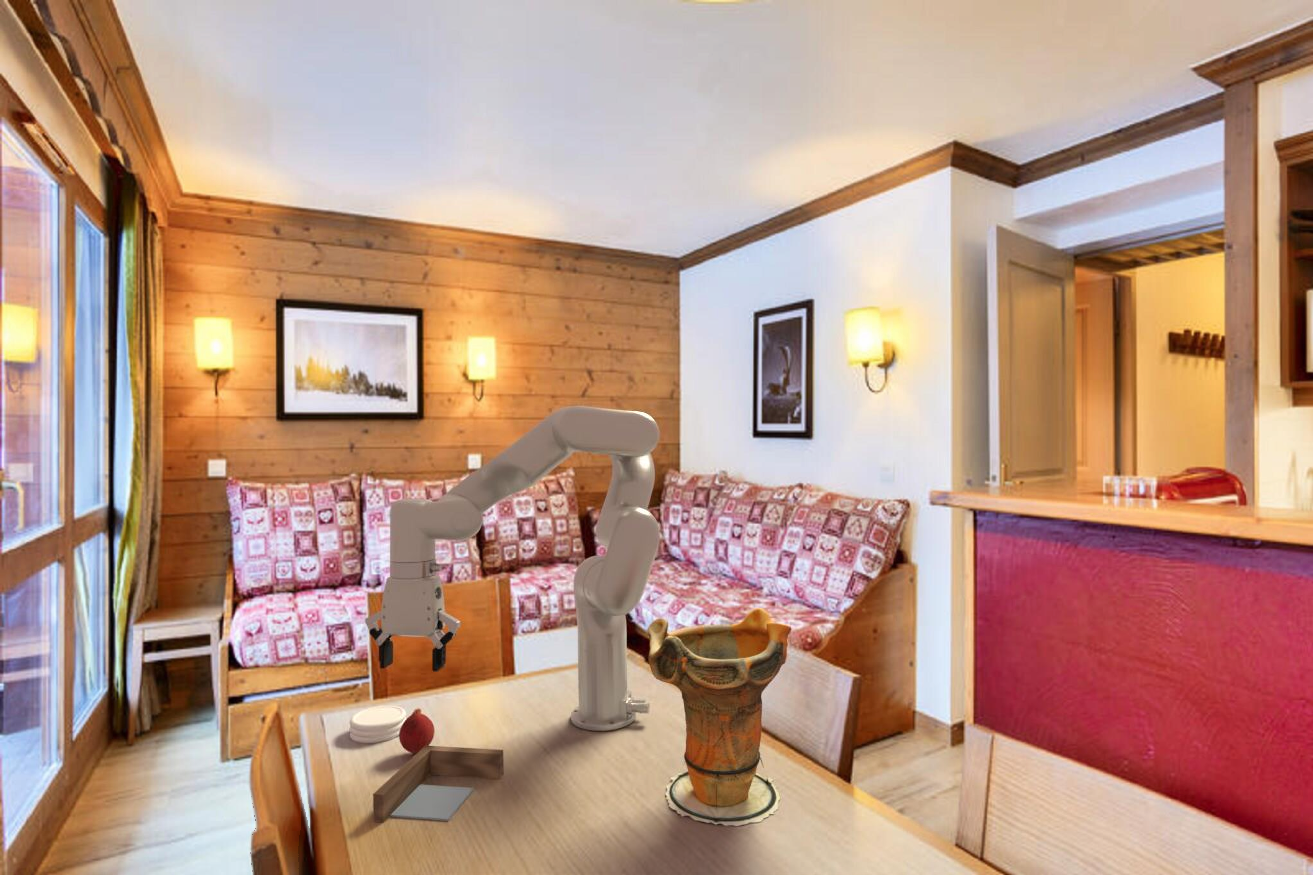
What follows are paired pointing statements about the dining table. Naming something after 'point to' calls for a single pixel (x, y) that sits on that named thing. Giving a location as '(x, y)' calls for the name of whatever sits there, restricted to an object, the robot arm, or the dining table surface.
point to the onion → (416, 732)
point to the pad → (433, 802)
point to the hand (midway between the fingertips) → (412, 667)
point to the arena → (435, 773)
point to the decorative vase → (721, 713)
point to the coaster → (377, 724)
